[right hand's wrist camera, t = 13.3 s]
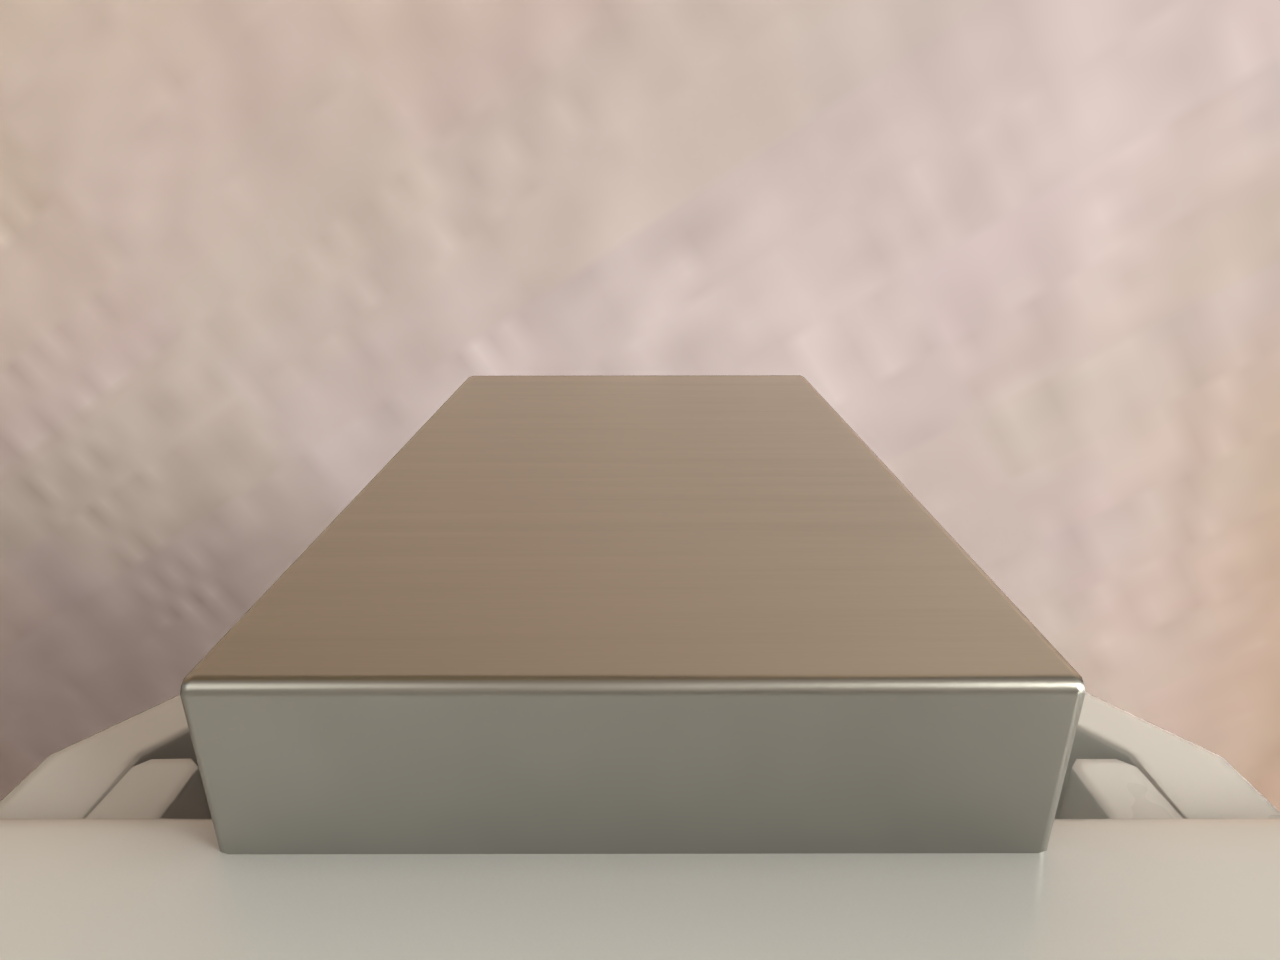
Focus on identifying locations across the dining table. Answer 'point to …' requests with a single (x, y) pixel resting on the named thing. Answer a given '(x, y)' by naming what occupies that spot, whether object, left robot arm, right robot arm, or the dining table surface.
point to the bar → (633, 646)
